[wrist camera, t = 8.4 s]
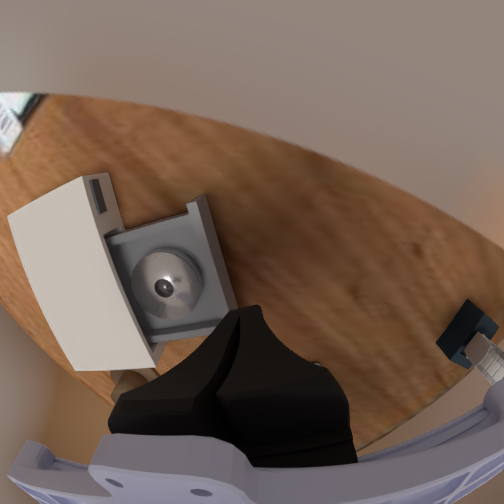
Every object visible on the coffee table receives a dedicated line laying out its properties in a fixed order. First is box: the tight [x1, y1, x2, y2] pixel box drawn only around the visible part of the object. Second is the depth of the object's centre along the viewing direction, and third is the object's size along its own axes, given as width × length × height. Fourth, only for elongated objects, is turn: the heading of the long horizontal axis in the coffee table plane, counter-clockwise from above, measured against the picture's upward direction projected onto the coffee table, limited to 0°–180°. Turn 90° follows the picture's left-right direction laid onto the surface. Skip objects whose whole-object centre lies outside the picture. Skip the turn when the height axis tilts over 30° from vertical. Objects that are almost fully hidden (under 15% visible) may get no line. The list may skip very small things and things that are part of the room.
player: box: [7, 172, 167, 371], centre depth 20 cm, size 9×15×4 cm, turn 14°
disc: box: [131, 247, 203, 320], centre depth 20 cm, size 5×5×2 cm
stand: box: [110, 367, 159, 404], centre depth 24 cm, size 6×6×4 cm
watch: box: [436, 299, 504, 385], centre depth 18 cm, size 6×8×11 cm
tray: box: [104, 195, 238, 343], centre depth 19 cm, size 9×10×3 cm
